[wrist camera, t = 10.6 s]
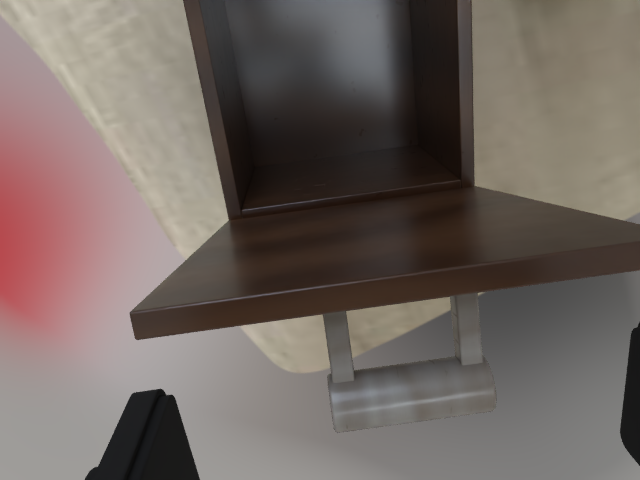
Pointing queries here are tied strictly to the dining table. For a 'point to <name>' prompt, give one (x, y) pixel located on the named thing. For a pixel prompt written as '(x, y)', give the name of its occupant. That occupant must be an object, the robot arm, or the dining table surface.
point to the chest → (335, 99)
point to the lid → (388, 284)
